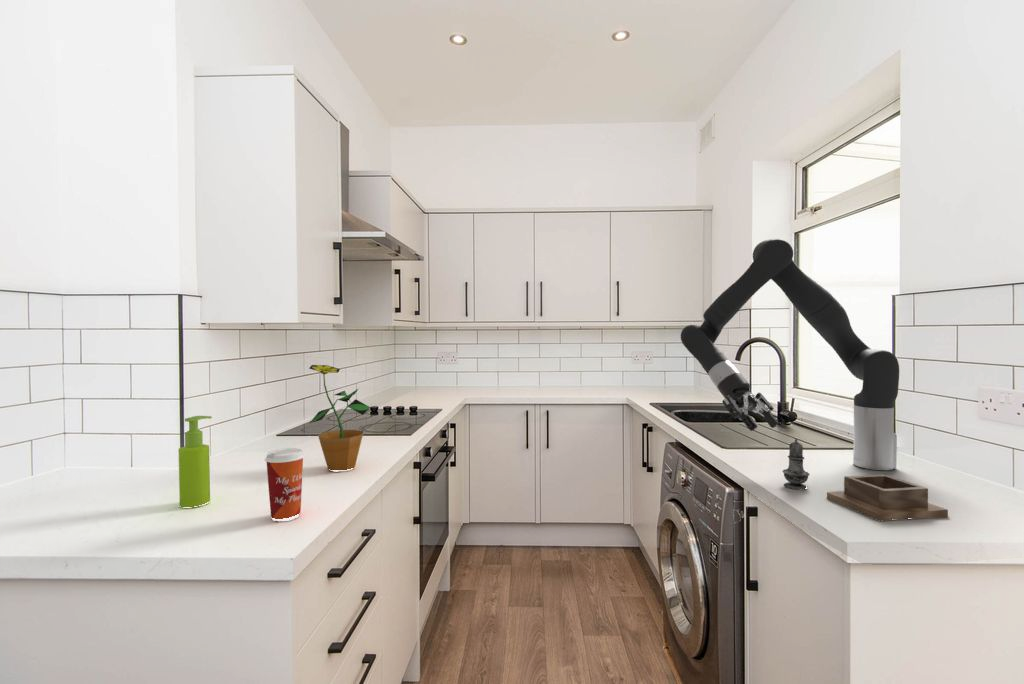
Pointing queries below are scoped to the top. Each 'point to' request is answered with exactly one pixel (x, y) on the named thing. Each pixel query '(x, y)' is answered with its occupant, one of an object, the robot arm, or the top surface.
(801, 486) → the salt shaker
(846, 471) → the top surface
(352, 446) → the potted plant
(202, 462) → the soap dispenser
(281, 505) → the paper cup
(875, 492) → the stand
